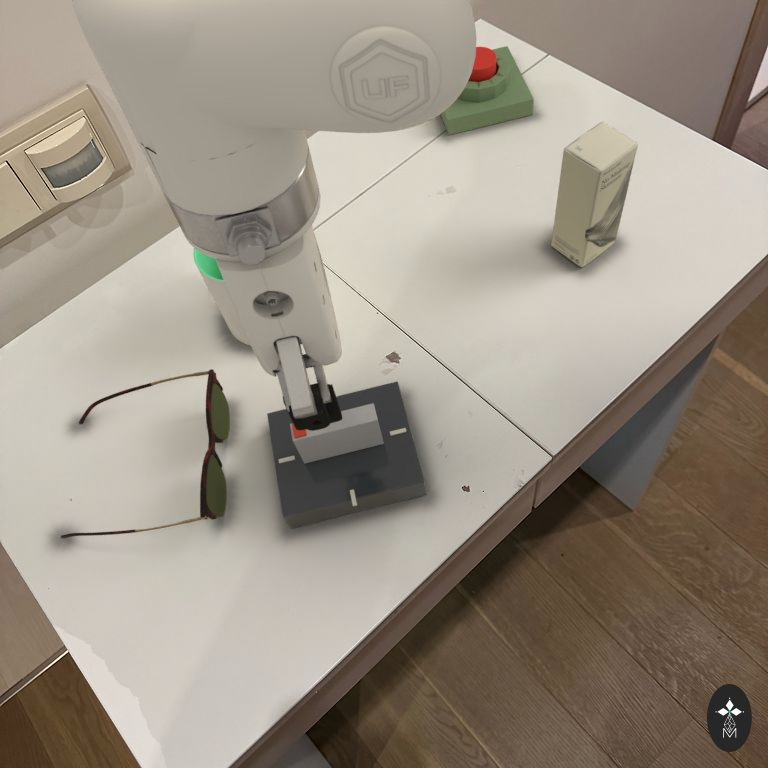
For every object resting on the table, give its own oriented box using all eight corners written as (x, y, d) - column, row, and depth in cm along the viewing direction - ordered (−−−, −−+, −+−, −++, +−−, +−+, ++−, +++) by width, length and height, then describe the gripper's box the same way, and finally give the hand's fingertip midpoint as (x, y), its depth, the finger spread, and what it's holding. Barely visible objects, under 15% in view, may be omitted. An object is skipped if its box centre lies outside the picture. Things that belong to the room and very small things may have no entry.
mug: (191, 293, 78) (153, 225, 69) (251, 249, 80) (222, 178, 72) (258, 360, 73) (227, 296, 64) (321, 311, 75) (299, 243, 66)
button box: (507, 61, 91) (507, 32, 88) (532, 114, 86) (534, 85, 82) (427, 81, 91) (425, 52, 87) (448, 135, 86) (446, 106, 82)
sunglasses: (225, 536, 64) (202, 516, 60) (66, 558, 66) (33, 540, 62) (231, 392, 72) (211, 365, 67) (88, 415, 74) (59, 391, 69)
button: (490, 56, 86) (490, 43, 85) (500, 78, 84) (500, 64, 83) (456, 64, 86) (456, 51, 85) (466, 86, 84) (465, 73, 83)
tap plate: (399, 391, 69) (396, 374, 67) (428, 501, 64) (426, 487, 61) (274, 422, 69) (265, 406, 67) (292, 535, 64) (283, 523, 61)
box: (581, 270, 74) (598, 174, 63) (549, 246, 76) (560, 148, 65) (618, 241, 75) (641, 142, 64) (585, 218, 77) (602, 118, 66)
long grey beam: (380, 427, 64) (373, 401, 60) (384, 444, 64) (377, 418, 59) (301, 447, 64) (289, 422, 60) (304, 464, 63) (291, 439, 59)
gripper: (345, 301, 34) (385, 458, 48) (290, 66, 43) (338, 259, 57) (183, 339, 34) (272, 486, 48) (162, 96, 43) (242, 282, 57)
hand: (308, 363), depth 53 cm, fingers open, 9 cm apart
